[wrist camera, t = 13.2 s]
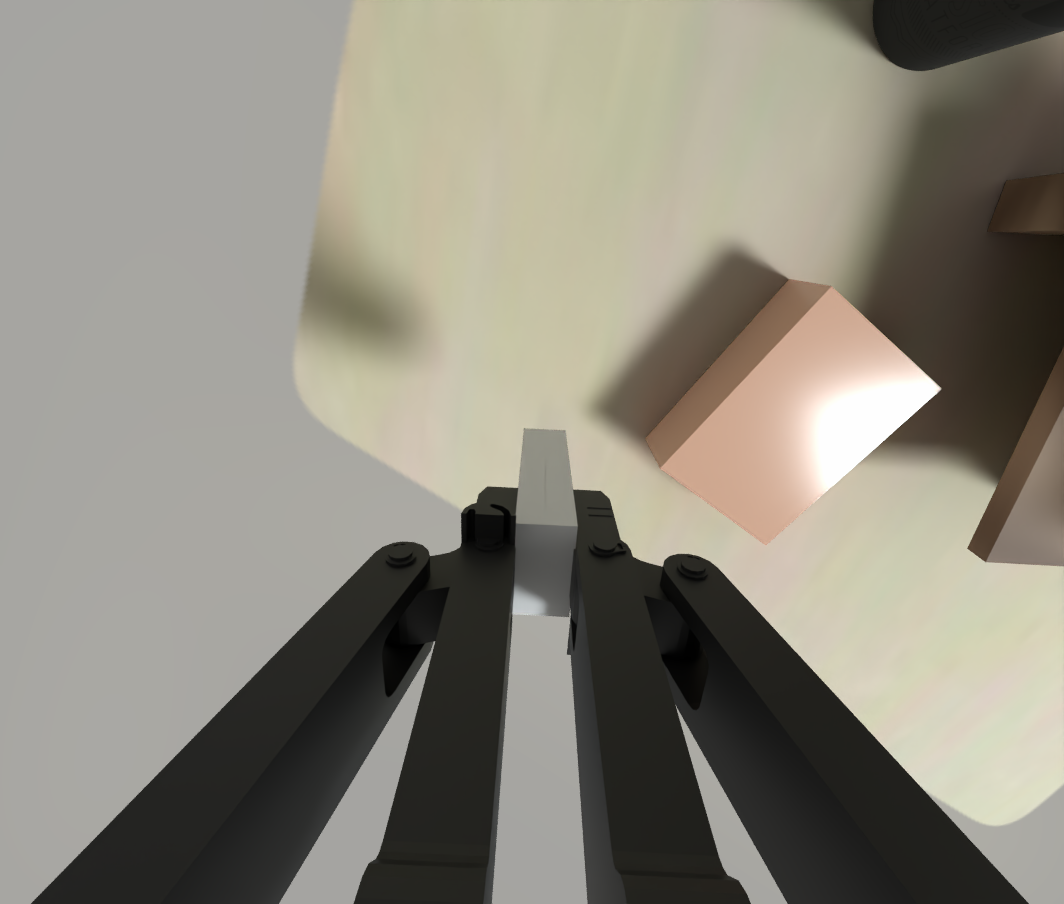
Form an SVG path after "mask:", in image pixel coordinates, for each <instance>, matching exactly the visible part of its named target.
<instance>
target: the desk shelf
mask: <svg viewBox="0 0 1064 904" xmlns="http://www.w3.org/2000/svg"><path fill="white" fill-rule="evenodd" d="M987 232H1005V233H1025V234H1045V235H1064V173H1061V174H1053V175H1045V176H1037V177H1030V178H1022V179H1014V180H1006V183H1005V186H1004V188H1003V191H1002V194H1001V196H1000V199H999V201H998V204H997V207H996V209H995V212H994V215H993V217H992V220H991V223H990V225H989V228H988V230H987ZM967 549H969V550H970V551H971V552H973V553H974V554H975V555H977V556H978V557H980V558H981V559H982V560H984V561H985V562H994V563H1013V564H1031V565H1050V566H1064V347H1063V349H1062V351H1061V353H1060V355H1059V358H1058V360H1057V362H1056V364H1055V366H1054V368H1053V370H1052V372H1051V374H1050V376H1049V378H1048V381H1047V383H1046V385H1045V387H1044V389H1043V391H1042V393H1041V395H1040V397H1039V399H1038V402H1037V404H1036V406H1035V408H1034V410H1033V412H1032V414H1031V416H1030V418H1029V420H1028V423H1027V425H1026V427H1025V429H1024V431H1023V433H1022V435H1021V437H1020V439H1019V441H1018V443H1017V446H1016V448H1015V450H1014V452H1013V454H1012V456H1011V458H1010V460H1009V462H1008V464H1007V467H1006V469H1005V471H1004V473H1003V475H1002V477H1001V479H1000V481H999V483H998V485H997V487H996V490H995V492H994V494H993V496H992V498H991V500H990V502H989V504H988V506H987V508H986V511H985V513H984V515H983V517H982V519H981V521H980V523H979V525H978V527H977V529H976V531H975V534H974V536H973V538H972V540H971V542H970V544H969V546H968V548H967Z"/></svg>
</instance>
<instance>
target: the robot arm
mask: <svg viewBox="0 0 1064 904" xmlns="http://www.w3.org/2000/svg"><path fill="white" fill-rule="evenodd" d="M461 534H462V543H461V547H460V548H458V549H457V550H455V551H452V552H450V553H446V554H441V555H435V556H430V555H429V551H428V550H427V549H426V548H425V547H424V546H423V545H420V544H417V543H414V542H397V543H392V544H389V545H387V546H384V547H382V548H381V549H379V550H378V551H376V552H375V553H374V554H373V555H372V556H371V557H370V558H369V559H368V560H367V561H366V562H365V563H364V564H363V566H362V567H361V568H360V569H359V570H358V571H357V572H356V573H355V574H354V575H353V576H352V577H351V578H350V579H349V580H348V581H347V582H346V583H345V584H344V585H343V586H342V587H341V588H340V589H339V590H338V591H337V592H336V593H335V594H334V595H333V596H332V597H331V598H330V599H329V600H328V601H327V602H326V603H325V604H324V605H323V606H322V607H321V608H320V609H319V610H318V611H317V612H316V613H315V615H313V616H312V617H311V619H310V620H309V621H308V622H307V623H306V624H305V625H304V626H303V627H302V628H301V629H300V630H299V631H298V632H297V633H296V634H295V635H294V636H293V637H292V638H291V639H290V640H289V641H288V642H287V643H286V644H285V645H284V646H283V647H282V648H281V649H280V650H279V651H278V652H277V653H276V654H275V655H274V656H273V657H272V658H271V659H270V660H269V661H268V662H267V664H265V666H263V667H262V669H261V670H260V671H259V672H258V673H257V674H256V675H255V676H254V677H253V678H252V679H251V680H250V681H249V682H248V683H247V684H246V685H245V686H244V687H243V688H242V689H241V690H240V691H239V692H238V693H237V694H236V695H235V696H234V697H233V698H232V699H231V700H230V701H229V702H228V703H227V704H226V705H225V706H224V707H223V708H222V709H221V711H220V712H218V713H217V714H216V715H215V717H213V718H212V720H211V721H210V722H209V723H208V724H207V725H206V726H205V727H204V728H203V729H202V730H201V731H200V732H199V733H198V734H197V735H196V736H195V737H194V738H193V739H192V740H191V741H190V742H189V743H188V744H187V745H186V746H185V747H184V748H183V749H182V750H181V751H180V752H179V753H178V754H177V755H176V756H175V757H174V758H173V759H172V760H171V761H170V762H169V763H168V764H167V765H166V766H165V768H164V769H163V770H162V771H161V772H160V773H159V774H158V775H157V776H156V777H155V778H154V779H153V780H152V781H151V782H150V783H149V784H148V785H147V786H146V787H145V788H144V789H143V790H142V791H141V792H140V793H139V794H138V795H137V796H136V797H135V798H134V799H133V800H132V801H131V802H130V803H129V804H128V805H127V806H126V807H125V809H123V810H122V812H121V813H119V814H118V815H117V816H116V818H115V819H114V820H113V821H112V822H111V823H110V824H109V825H108V826H107V827H106V828H105V829H104V830H103V831H102V832H101V833H100V834H99V835H98V836H97V837H96V838H95V839H94V840H93V841H92V842H91V843H90V844H89V845H88V846H87V847H86V848H85V849H84V850H83V851H82V852H81V853H80V854H79V855H78V856H77V857H76V858H75V859H74V860H73V861H72V863H70V864H69V865H68V866H67V867H66V869H64V871H63V872H62V873H61V874H60V875H59V876H58V877H57V878H56V879H55V880H54V881H53V882H52V883H51V884H50V885H49V886H48V887H47V888H46V889H45V890H44V891H43V892H42V893H41V894H40V895H39V896H38V897H37V898H36V899H35V900H34V901H33V902H32V903H31V904H279V902H280V901H281V899H282V897H283V896H284V894H285V892H286V891H287V889H288V887H289V886H290V884H291V882H292V881H293V879H294V877H295V876H296V874H297V872H298V871H299V869H300V867H301V866H302V864H303V862H304V861H305V859H306V857H307V856H308V854H309V852H310V851H311V849H312V847H313V846H314V844H315V842H316V841H317V839H318V837H319V836H320V834H321V832H322V831H323V829H324V827H325V826H326V824H327V822H328V821H329V819H330V817H331V816H332V814H333V812H334V811H335V809H336V807H337V806H338V804H339V802H340V801H341V799H342V797H343V796H344V794H345V792H346V791H347V789H348V787H349V786H350V784H351V782H352V780H353V779H354V777H355V776H356V774H357V772H358V771H359V769H360V767H361V765H362V764H363V762H364V761H365V759H366V757H367V756H368V754H369V752H370V751H371V749H372V747H373V745H374V744H375V742H376V741H377V739H378V737H379V736H380V734H381V732H382V731H383V729H384V727H385V726H386V724H387V722H388V721H389V719H390V717H391V716H392V714H393V712H394V711H395V709H396V707H397V706H398V704H399V702H400V701H401V699H402V697H403V696H404V694H405V692H406V691H407V689H408V687H409V686H410V684H411V682H412V681H413V679H414V677H415V676H416V674H417V672H418V671H419V669H420V667H421V666H422V664H423V662H424V661H425V659H426V657H427V656H428V654H429V652H430V651H431V648H432V645H433V641H435V645H434V649H433V653H432V657H431V660H430V664H429V668H428V672H427V676H426V679H425V684H424V687H423V691H422V695H421V698H420V702H419V706H418V710H417V713H416V717H415V721H414V725H413V729H412V733H411V736H410V740H409V744H408V748H407V751H406V755H405V759H404V763H403V767H402V771H401V774H400V778H399V782H398V786H397V789H396V793H395V797H394V801H393V805H392V808H391V812H390V816H389V820H388V823H387V827H386V832H385V835H384V839H383V842H382V846H381V849H380V852H379V854H378V856H377V858H376V859H375V860H373V861H372V862H370V863H369V864H368V866H367V868H366V870H365V872H364V875H363V876H362V880H361V882H360V885H359V889H358V892H357V895H356V898H355V901H354V904H492V892H493V878H494V865H495V851H496V837H497V824H498V810H499V796H500V782H501V769H502V755H503V742H504V728H505V714H506V701H507V700H506V699H507V687H508V674H509V660H510V647H511V646H510V645H511V633H512V614H519V615H541V616H561V617H569V612H570V610H571V618H570V628H569V639H568V649H567V654H568V655H571V665H572V679H573V694H574V709H575V724H576V738H577V753H578V767H579V783H580V797H581V812H582V826H583V842H584V856H585V869H586V870H585V871H586V885H587V900H588V904H751V903H750V901H749V898H748V895H747V894H746V892H745V890H744V889H743V887H742V885H741V884H740V882H739V881H738V880H736V879H734V878H732V877H730V876H728V875H727V874H726V872H725V870H724V869H723V867H722V864H721V861H720V859H719V856H718V852H717V848H716V845H715V841H714V838H713V835H712V831H711V828H710V824H709V821H708V817H707V814H706V810H705V807H704V804H703V800H702V796H701V793H700V789H699V786H698V782H697V779H696V776H695V772H694V769H693V765H692V762H691V758H690V755H689V751H688V748H687V744H686V741H685V737H684V734H683V730H682V727H681V723H680V720H679V716H678V713H677V709H676V706H677V708H678V710H679V712H680V713H681V715H682V717H683V719H684V721H685V722H686V724H687V726H688V728H689V729H690V731H691V733H692V735H693V737H694V738H695V740H696V742H697V744H698V745H699V747H700V749H701V751H702V752H703V754H704V756H705V758H706V760H707V761H708V763H709V765H710V767H711V768H712V770H713V772H714V774H715V775H716V777H717V779H718V781H719V782H720V784H721V786H722V788H723V790H724V792H725V793H726V795H727V797H728V798H729V800H730V802H731V804H732V806H733V807H734V809H735V811H736V813H737V815H738V816H739V818H740V820H741V822H742V823H743V825H744V827H745V829H746V831H747V832H748V834H749V836H750V838H751V839H752V841H753V843H754V845H755V846H756V848H757V850H758V852H759V854H760V855H761V857H762V859H763V861H764V862H765V864H766V866H767V868H768V870H769V871H770V873H771V875H772V877H773V878H774V880H775V882H776V884H777V886H778V887H779V889H780V891H781V893H782V894H783V896H784V898H785V900H786V901H787V903H788V904H1029V903H1028V902H1027V901H1026V900H1025V899H1024V898H1023V897H1022V896H1021V895H1020V894H1019V893H1018V891H1017V890H1016V889H1015V888H1014V887H1013V886H1012V885H1011V884H1010V883H1009V882H1008V881H1007V880H1006V879H1005V877H1004V876H1003V875H1002V874H1001V873H1000V872H999V871H998V870H997V869H996V868H995V867H994V866H993V864H991V862H990V861H989V860H988V859H987V858H986V857H985V856H984V855H983V854H982V853H981V852H980V850H979V849H978V848H977V847H976V846H975V845H974V844H973V843H972V842H971V841H970V840H969V839H968V838H967V836H966V835H965V834H964V833H963V832H962V831H961V830H960V829H959V828H958V827H957V826H956V825H955V823H954V822H953V821H952V820H951V819H950V818H949V817H948V816H947V815H946V814H945V813H944V812H943V811H942V809H941V808H940V807H939V806H938V805H937V804H936V803H935V802H934V801H933V800H932V799H931V798H930V796H929V795H928V794H927V793H926V792H925V791H924V790H923V789H922V788H921V787H920V786H919V785H918V784H917V782H916V781H915V780H914V779H913V778H912V777H911V776H910V775H909V774H908V773H907V772H906V771H905V769H904V768H903V767H902V766H901V765H900V764H899V763H898V762H897V761H896V760H895V759H894V758H893V757H892V755H891V754H890V753H889V752H888V751H887V750H886V749H885V748H884V747H883V746H882V745H881V744H880V743H879V741H878V740H877V739H876V738H875V737H874V736H873V735H872V734H871V733H870V732H869V731H868V730H867V728H866V727H865V726H864V725H863V724H862V723H861V722H860V721H859V720H858V719H857V718H856V717H855V716H854V714H853V713H852V712H851V711H850V710H849V709H848V708H847V707H846V706H845V705H844V704H843V703H842V701H841V700H840V699H839V698H838V697H837V696H836V695H835V694H834V693H833V692H832V691H831V690H830V689H829V687H828V686H827V685H826V684H825V683H824V682H823V681H822V680H821V679H820V678H819V677H818V676H817V674H816V673H815V672H814V671H813V670H812V669H811V668H810V667H809V666H808V665H807V664H806V663H805V662H804V660H803V659H802V658H801V657H800V656H799V655H798V654H797V653H796V652H795V651H794V650H793V649H792V648H791V646H790V645H789V644H788V643H787V642H786V641H785V640H784V639H783V638H782V637H781V636H780V635H779V633H778V632H777V631H776V630H775V629H774V628H773V627H772V626H771V625H770V624H769V623H768V622H767V621H766V619H765V618H764V617H763V616H762V615H761V614H760V613H759V612H758V611H757V610H756V609H755V608H754V606H753V605H752V604H751V603H750V602H749V601H748V600H747V599H746V598H745V597H744V596H743V595H742V594H741V592H740V591H739V590H738V589H737V588H736V587H735V586H734V585H733V584H732V583H731V582H730V581H729V580H728V578H727V577H726V576H725V575H724V574H723V573H722V572H721V571H720V570H719V569H718V568H717V567H716V566H715V565H714V564H712V563H711V562H710V561H708V560H706V559H703V558H701V557H699V556H695V555H691V554H676V555H672V556H669V557H668V558H667V559H666V560H665V561H664V565H663V567H661V566H657V565H653V564H649V563H646V562H643V561H640V560H638V559H636V558H634V557H633V556H632V553H631V550H630V548H629V547H628V545H627V544H626V543H624V542H623V541H621V540H620V536H619V532H618V529H617V525H616V521H615V518H614V514H613V510H612V506H611V503H610V499H609V498H608V497H607V496H606V495H605V494H603V493H602V492H601V491H590V490H573V486H572V478H571V470H570V463H569V455H568V447H567V439H566V431H565V430H545V429H525V428H524V433H523V444H522V454H521V465H520V475H519V486H518V488H506V487H486V488H485V489H484V490H483V491H482V492H481V493H479V495H478V499H477V503H475V504H471V505H470V506H468V507H466V508H465V509H464V510H463V512H462V513H461ZM675 705H676V706H675Z"/></svg>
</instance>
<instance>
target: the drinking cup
mask: <svg viewBox="0 0 1064 904" xmlns="http://www.w3.org/2000/svg"><path fill="white" fill-rule="evenodd" d="M873 23H874V30H875V34H876V38H877V41H878V43H879V45H880V47H881V49H882V51H883V52H884V54H885V55H886V56H887V57H888V58H889V59H890V60H891V61H892V62H894V63H895V64H897V65H898V66H900V67H902V68H905V69H908V70H914V71H926V70H932V69H936V68H939V67H943V66H946V65H950V64H953V63H956V62H960V61H963V60H966V59H970V58H973V57H977V56H980V55H983V54H987V53H990V52H994V51H997V50H1000V49H1004V48H1007V47H1010V46H1014V45H1017V44H1021V43H1024V42H1027V41H1031V40H1034V39H1037V38H1041V37H1044V36H1048V35H1051V34H1054V33H1058V32H1061V31H1064V0H874V7H873Z"/></svg>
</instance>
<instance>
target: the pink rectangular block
mask: <svg viewBox="0 0 1064 904" xmlns="http://www.w3.org/2000/svg"><path fill="white" fill-rule="evenodd" d="M940 390H941V388H940V387H939V386H938V385H937V384H936V383H935V382H934V381H933V380H932V379H931V378H930V377H929V376H928V375H926V374H925V373H924V372H923V371H922V370H921V369H920V368H919V367H918V366H917V365H916V364H915V363H914V362H912V361H911V360H910V359H909V358H908V357H907V356H906V355H905V354H904V353H903V352H902V351H901V350H900V349H899V348H897V347H896V346H895V345H894V344H893V343H892V342H891V341H890V340H889V339H888V338H887V337H886V336H885V335H884V334H882V333H881V332H880V331H879V330H878V329H877V328H876V327H875V326H874V325H873V324H872V323H871V322H870V321H868V320H867V319H866V318H865V317H864V316H863V315H862V314H861V313H860V312H859V311H858V310H857V309H856V308H855V307H853V306H852V305H851V304H850V303H849V302H848V301H847V300H846V299H845V298H844V297H843V296H842V295H841V294H840V293H838V292H837V291H836V290H835V289H834V288H833V287H832V286H827V285H821V284H815V283H809V282H803V281H797V280H791V279H789V280H788V281H787V282H786V283H785V284H784V285H783V287H782V288H781V289H780V290H779V291H778V292H777V293H776V294H775V295H774V297H773V298H772V299H771V300H770V301H769V302H768V303H767V304H766V305H765V307H764V308H763V309H762V310H761V311H760V312H759V313H758V314H757V315H756V316H755V318H754V319H753V320H752V321H751V322H750V323H749V324H748V325H747V326H746V328H745V329H744V330H743V331H742V332H741V333H740V334H739V335H738V336H737V337H736V339H735V340H734V341H733V342H732V343H731V344H730V345H729V346H728V347H727V349H726V350H725V351H724V352H723V353H722V354H721V355H720V356H719V357H718V358H717V360H716V361H715V362H714V363H713V364H712V365H711V366H710V367H709V368H708V370H707V371H706V372H705V373H704V374H703V375H702V376H701V377H700V378H699V379H698V381H697V382H696V383H695V384H694V385H693V386H692V387H691V388H690V389H689V391H688V392H687V393H686V394H685V395H684V396H683V397H682V398H681V399H680V401H679V402H678V403H677V404H676V405H675V406H674V407H673V408H672V409H671V410H670V412H669V413H668V414H667V415H666V416H665V417H664V418H663V419H662V420H661V422H660V423H659V424H658V425H657V426H656V427H655V428H654V429H653V430H652V431H651V433H650V434H649V435H648V436H647V437H646V438H645V439H646V441H647V443H648V445H649V447H650V449H651V451H652V453H653V455H654V457H655V459H656V461H657V463H658V465H659V467H660V469H662V470H663V471H664V472H666V473H667V474H668V475H670V476H671V477H673V478H674V479H675V480H677V481H678V482H679V483H681V484H682V485H684V486H685V487H686V488H688V489H689V490H690V491H692V492H693V493H695V494H696V495H697V496H699V497H700V498H701V499H703V500H704V501H706V502H707V503H708V504H710V505H711V506H712V507H714V508H715V509H717V510H718V511H719V512H721V513H722V514H723V515H725V516H726V517H728V518H729V519H730V520H732V521H733V522H734V523H736V524H737V525H739V526H740V527H741V528H743V529H744V530H745V531H747V532H748V533H749V534H751V535H752V536H754V537H755V538H756V539H758V540H759V541H760V542H762V543H763V544H765V545H767V544H768V543H769V542H770V541H771V540H772V539H774V538H775V537H776V536H777V535H778V534H779V533H780V532H781V531H783V530H784V529H785V528H786V527H787V526H788V525H789V524H790V523H792V522H793V521H794V520H795V519H796V518H797V517H798V516H799V515H800V514H802V513H803V512H804V511H805V510H806V509H807V508H808V507H809V506H811V505H812V504H813V503H814V502H815V501H816V500H817V499H818V498H820V497H821V496H822V495H823V494H824V493H825V492H826V491H827V490H829V489H830V488H831V487H832V486H833V485H834V484H835V483H836V482H838V481H839V480H840V479H841V478H842V477H843V476H844V475H845V474H847V473H848V472H849V471H850V470H851V469H852V468H853V467H854V466H856V465H857V464H858V463H859V462H860V461H861V460H862V459H863V458H865V457H866V456H867V455H868V454H869V453H870V452H871V451H872V450H874V449H875V448H876V447H877V446H878V445H879V444H880V443H881V442H883V441H884V440H885V439H886V438H887V437H888V436H889V435H890V434H892V433H893V432H894V431H895V430H896V429H897V428H898V427H899V426H901V425H902V424H903V423H904V422H905V421H906V420H907V419H908V418H910V417H911V416H912V415H913V414H914V413H915V412H916V411H917V410H919V409H920V408H921V407H922V406H923V405H924V404H925V403H926V402H928V401H929V400H930V399H931V398H932V397H933V396H934V395H935V394H936V393H938V392H939V391H940Z"/></svg>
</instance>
